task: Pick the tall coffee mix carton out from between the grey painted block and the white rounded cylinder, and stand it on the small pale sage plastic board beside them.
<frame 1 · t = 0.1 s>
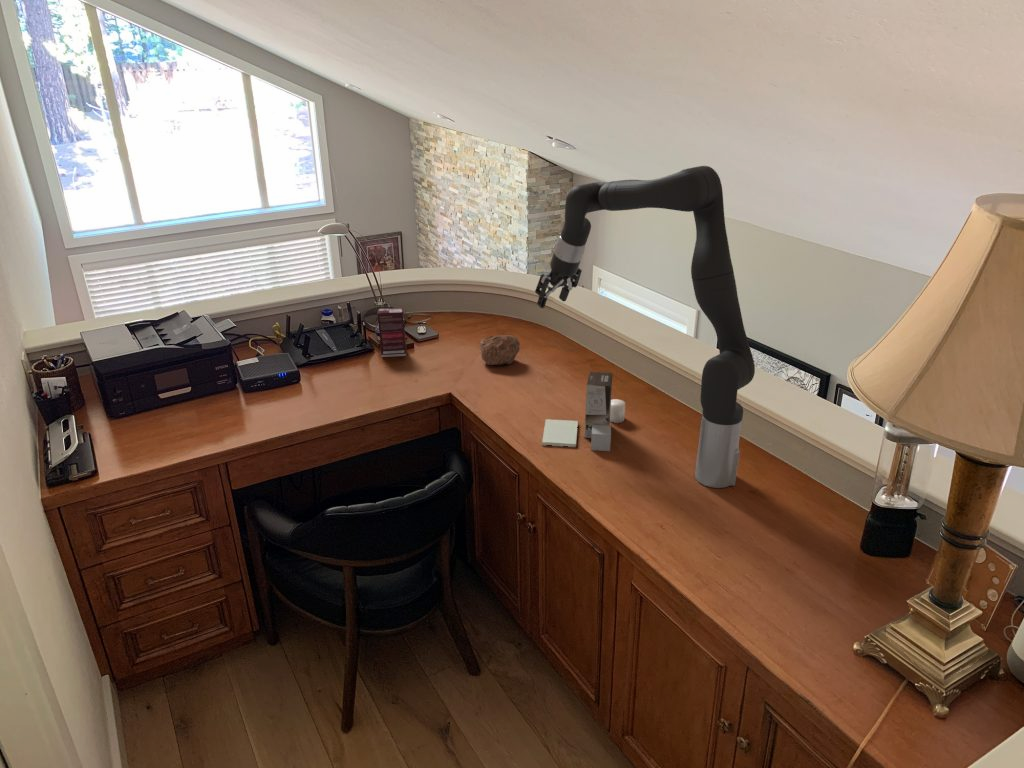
hand: (551, 303, 210), 31 cm above the table, tool tilted 20°, fingers open, 8 cm apart
decorative rock: (499, 363, 251), on the table
coffee box: (597, 431, 208), on the table
white rounded cylinder: (615, 418, 214), on the table
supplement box: (393, 354, 258), on the table
sage board: (560, 434, 206), on the table
grey block: (600, 446, 200), on the table
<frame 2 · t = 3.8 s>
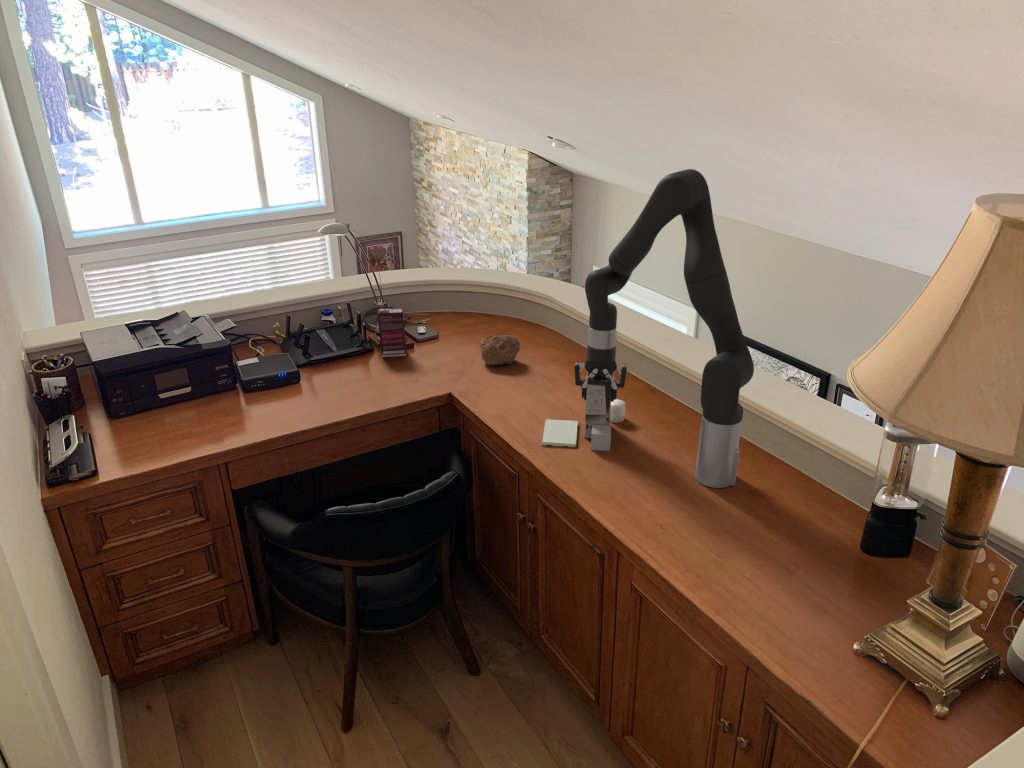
hand: (598, 399, 204), 10 cm above the table, tool pointing down, fingers closed on coffee box, 6 cm apart
coffee box: (597, 431, 208), on the table, touching gripper
everything else where it was.
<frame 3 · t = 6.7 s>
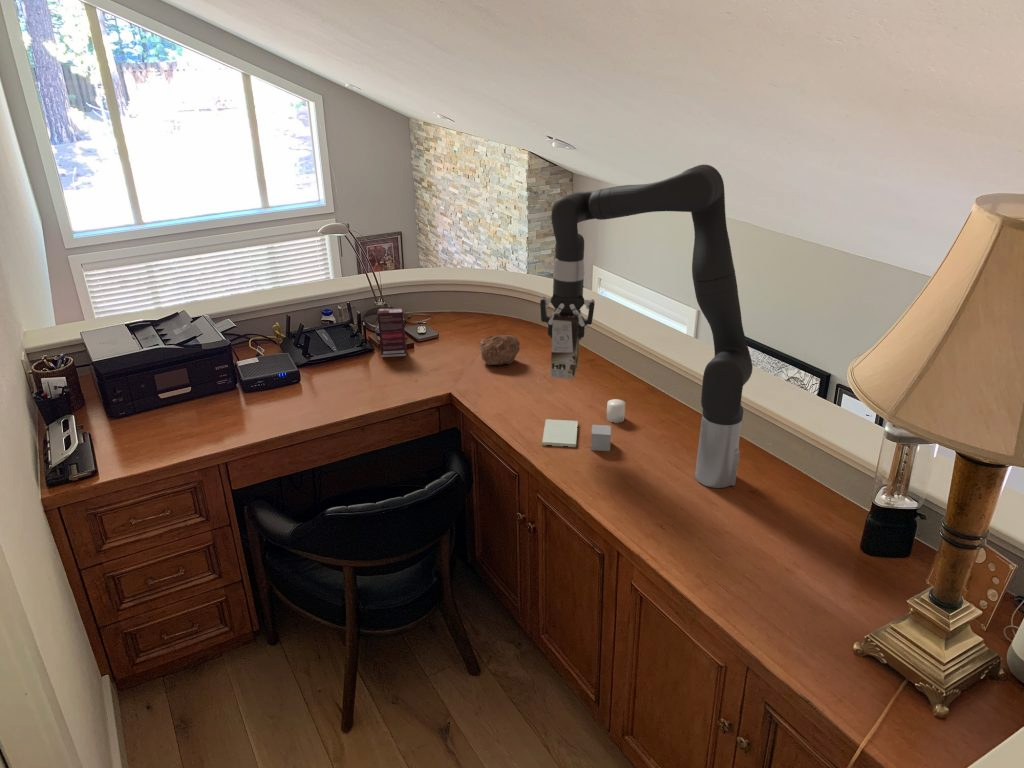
hand: (566, 337, 195), 28 cm above the table, tool pointing down, fingers closed on coffee box, 6 cm apart
coffee box: (564, 372, 199), point 18 cm above the table, touching gripper
everything else where it was.
when the fingers open (12 cm above the table, at t = 9.8 s): coffee box drops 1 cm, resting on sage board.
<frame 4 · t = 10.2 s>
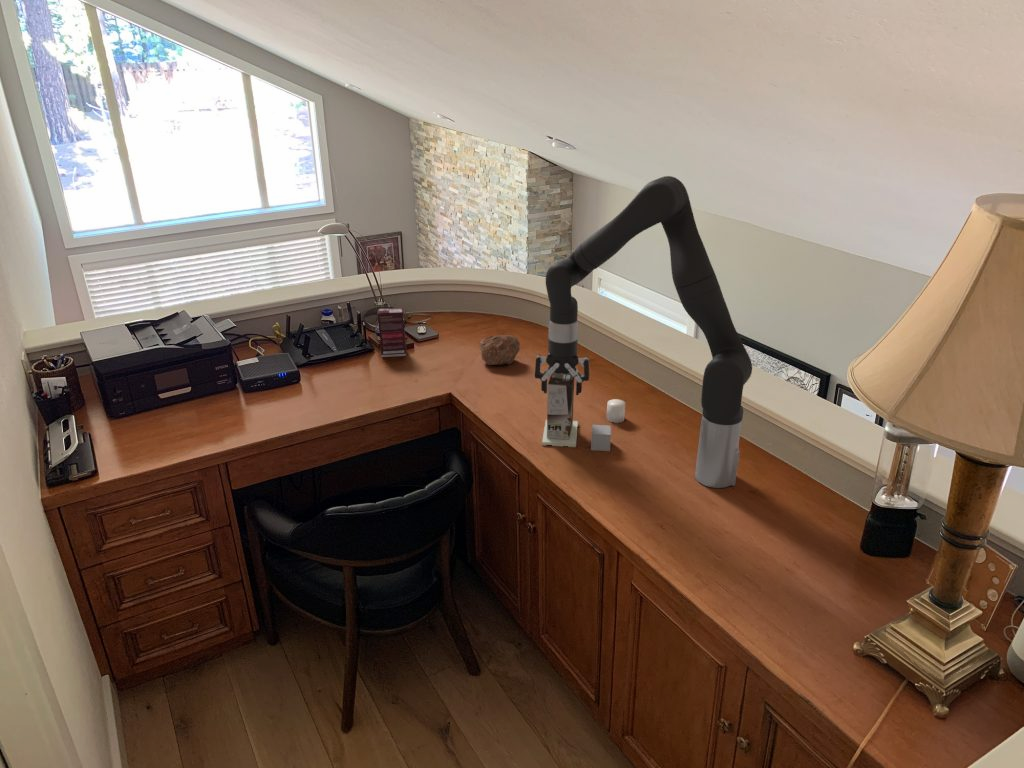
hand: (561, 393, 201), 13 cm above the table, tool pointing down, fingers open, 8 cm apart
coffee box: (560, 431, 206), point 1 cm above the table, touching sage board
everything else where it was.
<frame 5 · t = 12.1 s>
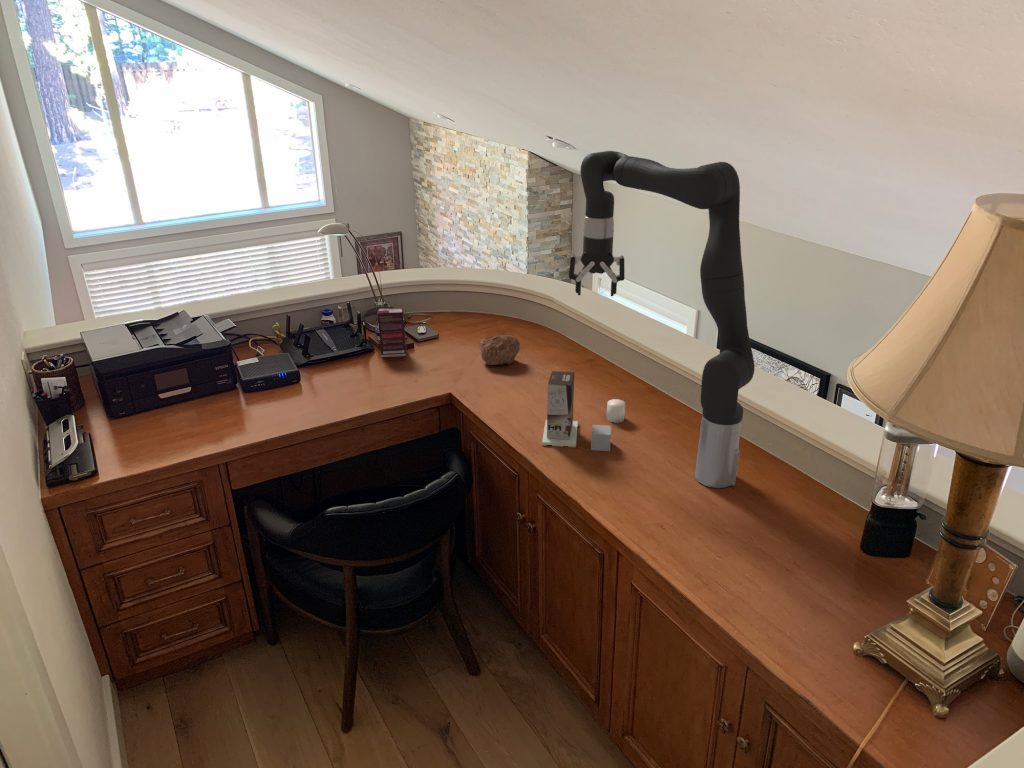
hand: (595, 294, 197), 37 cm above the table, tool pointing down, fingers open, 8 cm apart
nothing on the table moved.
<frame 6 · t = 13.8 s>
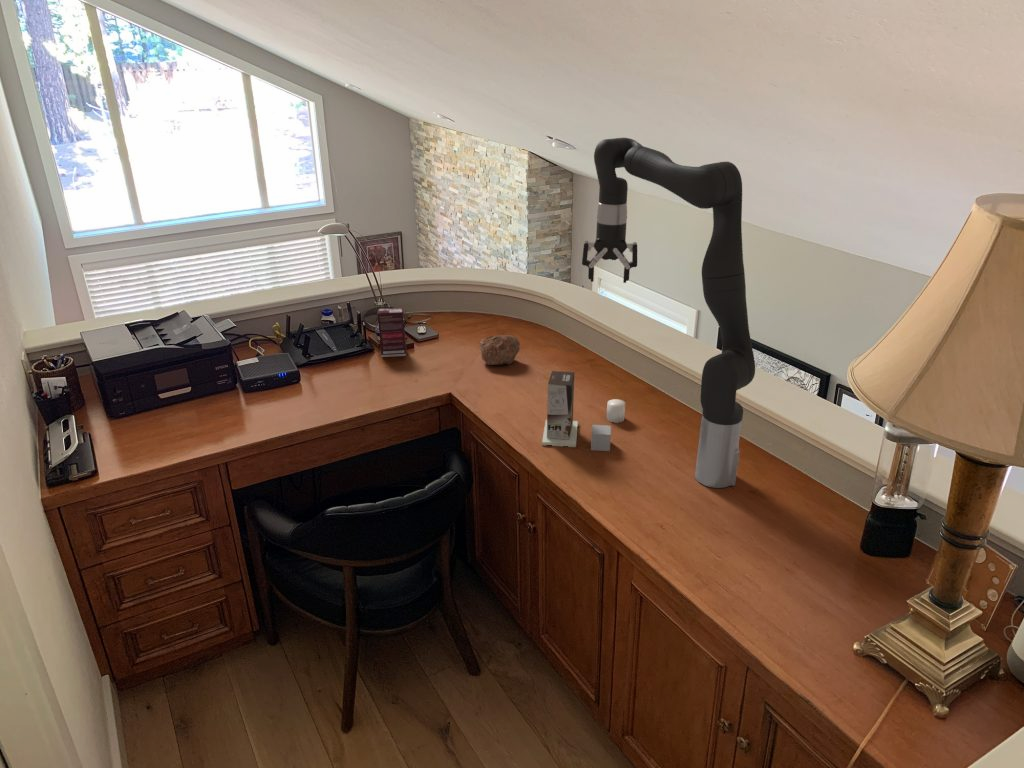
hand: (608, 281, 199), 40 cm above the table, tool pointing down, fingers open, 8 cm apart
nothing on the table moved.
at the end: coffee box inside the target area on the sage board (0.1 cm from its centre), point 0.8 cm above the sage board's base; coffee box tilted 0°; the gripper is holding nothing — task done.
